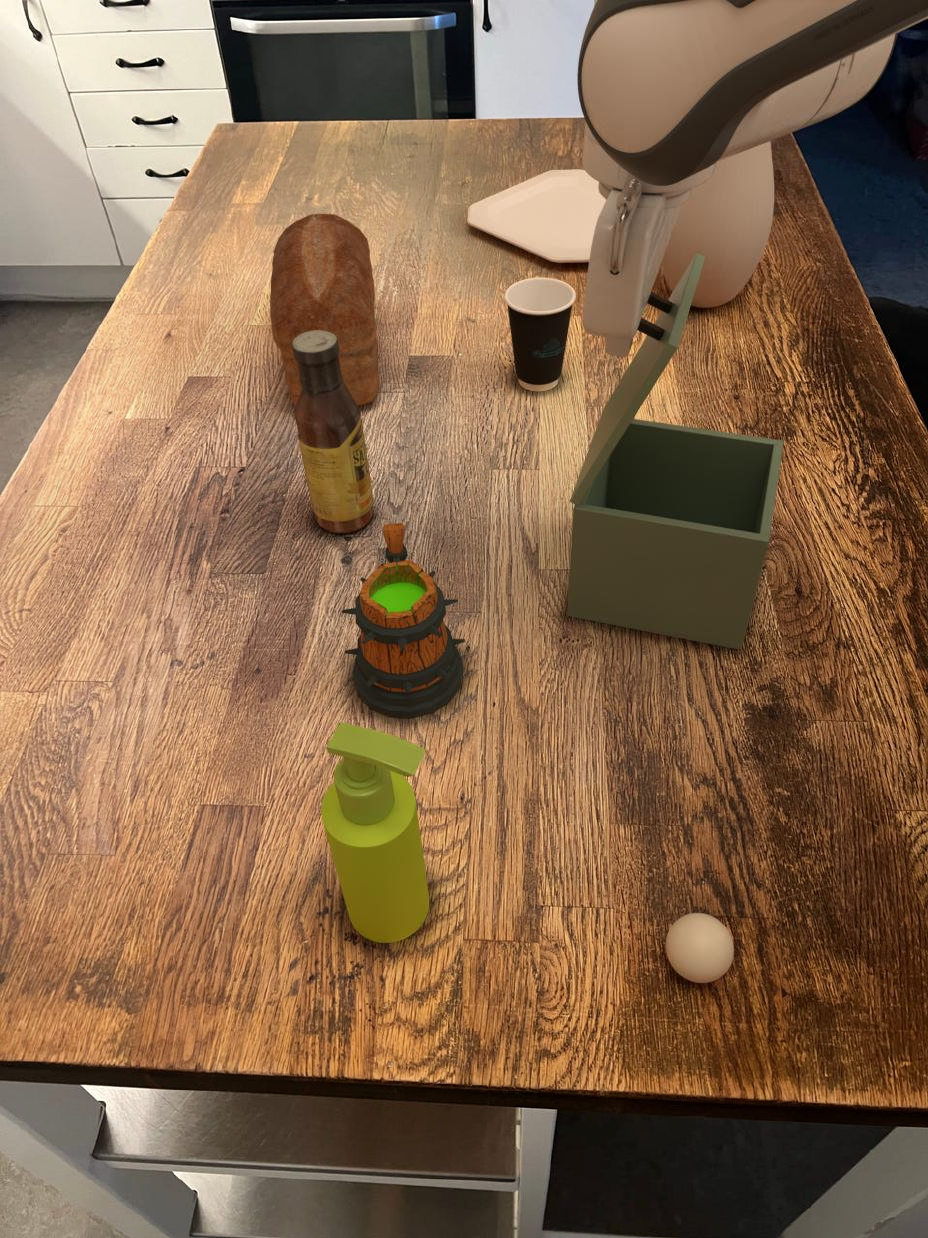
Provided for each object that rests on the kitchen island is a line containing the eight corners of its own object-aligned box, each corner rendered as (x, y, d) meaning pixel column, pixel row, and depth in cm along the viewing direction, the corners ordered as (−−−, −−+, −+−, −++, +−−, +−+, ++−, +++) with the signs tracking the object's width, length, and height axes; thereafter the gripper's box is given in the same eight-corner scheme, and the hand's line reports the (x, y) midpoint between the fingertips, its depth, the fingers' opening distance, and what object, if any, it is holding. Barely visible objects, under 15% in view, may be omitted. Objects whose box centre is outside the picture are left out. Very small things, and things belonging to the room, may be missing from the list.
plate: (565, 176, 154) (565, 161, 153) (688, 222, 141) (690, 207, 140) (450, 227, 143) (449, 212, 142) (572, 282, 130) (573, 266, 129)
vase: (768, 284, 128) (821, 29, 106) (738, 333, 120) (788, 68, 98) (669, 264, 133) (700, 16, 111) (634, 311, 124) (659, 53, 103)
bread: (284, 426, 110) (259, 311, 100) (287, 305, 129) (267, 197, 119) (388, 415, 111) (375, 300, 100) (376, 296, 130) (363, 189, 119)
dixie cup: (550, 406, 111) (553, 319, 103) (492, 387, 114) (490, 301, 106) (583, 373, 115) (588, 287, 107) (526, 355, 118) (527, 270, 110)
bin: (757, 548, 93) (784, 440, 84) (741, 650, 84) (769, 541, 75) (598, 521, 97) (607, 414, 87) (567, 616, 88) (573, 508, 78)
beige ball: (731, 941, 66) (742, 911, 63) (723, 1002, 63) (734, 974, 60) (667, 923, 67) (675, 893, 64) (657, 983, 64) (664, 955, 61)
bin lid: (705, 256, 74) (650, 227, 74) (678, 347, 66) (615, 315, 65) (611, 412, 87) (564, 388, 87) (577, 506, 78) (525, 480, 78)
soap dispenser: (424, 959, 66) (398, 799, 52) (334, 928, 68) (284, 765, 53) (454, 885, 70) (438, 717, 55) (368, 857, 72) (330, 687, 57)
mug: (472, 714, 80) (467, 620, 72) (350, 726, 80) (331, 633, 72) (458, 604, 89) (452, 508, 81) (349, 614, 89) (331, 520, 81)
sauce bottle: (378, 532, 97) (354, 357, 82) (316, 540, 96) (281, 366, 82) (372, 491, 101) (347, 319, 87) (312, 499, 101) (278, 328, 86)
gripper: (673, 214, 56) (643, 413, 66) (719, 89, 69) (688, 271, 79) (567, 201, 57) (553, 397, 67) (632, 80, 70) (612, 260, 80)
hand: (626, 328), depth 73 cm, fingers closed on bin lid, 5 cm apart
